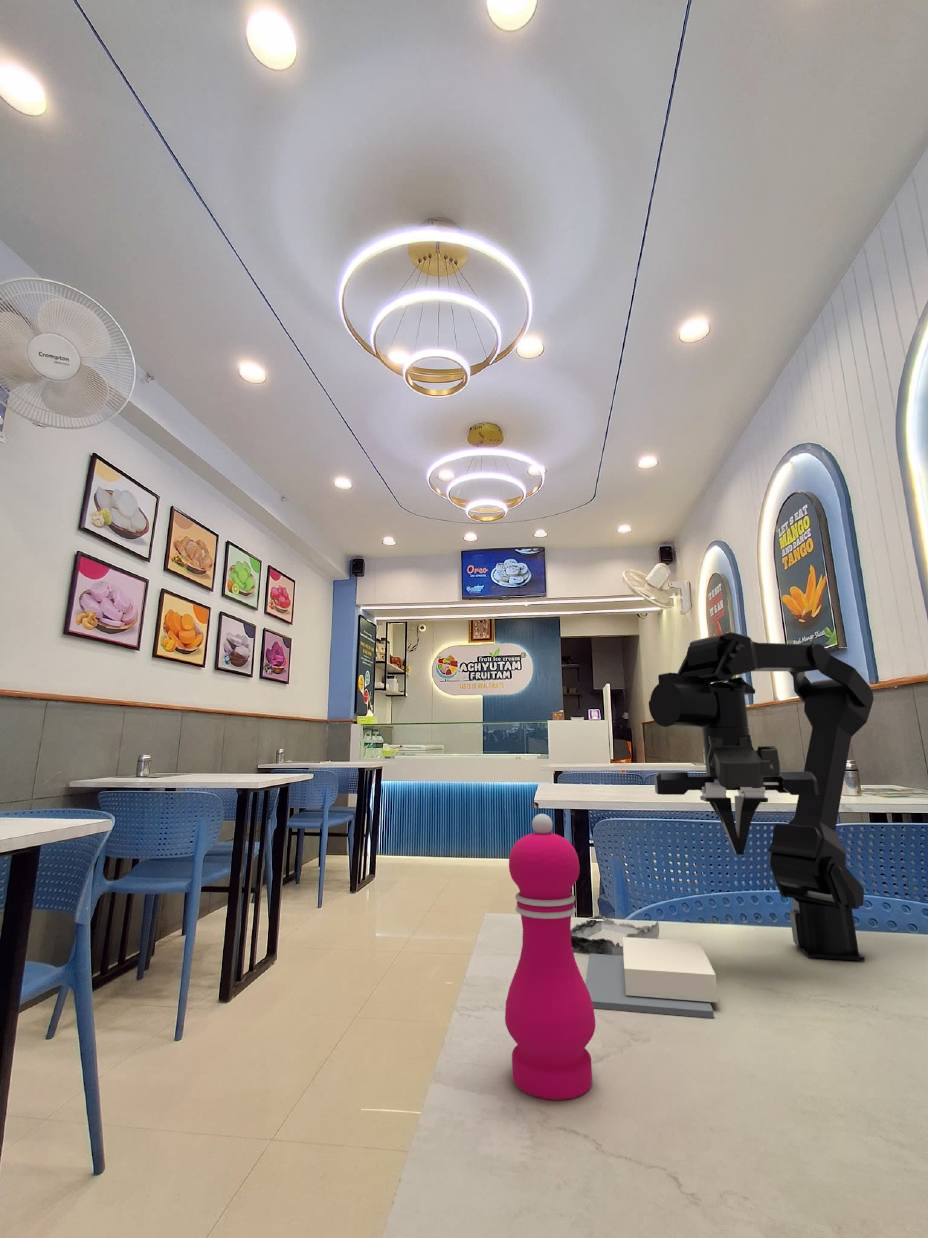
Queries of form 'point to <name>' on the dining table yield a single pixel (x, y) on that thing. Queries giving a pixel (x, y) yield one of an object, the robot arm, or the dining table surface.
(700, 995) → the ceramic tile
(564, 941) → the pepper mill
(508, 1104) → the dining table surface
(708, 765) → the robot arm
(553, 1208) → the dining table surface
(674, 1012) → the slate mat
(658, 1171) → the dining table surface
